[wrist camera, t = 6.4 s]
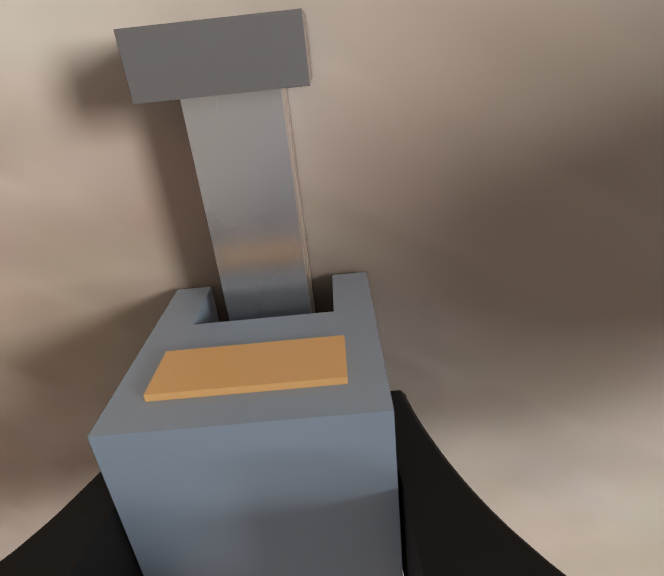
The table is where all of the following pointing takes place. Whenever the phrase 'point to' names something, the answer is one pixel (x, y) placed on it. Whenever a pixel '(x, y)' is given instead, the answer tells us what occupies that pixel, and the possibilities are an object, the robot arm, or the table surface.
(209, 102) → the rail
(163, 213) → the table surface
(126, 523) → the block
